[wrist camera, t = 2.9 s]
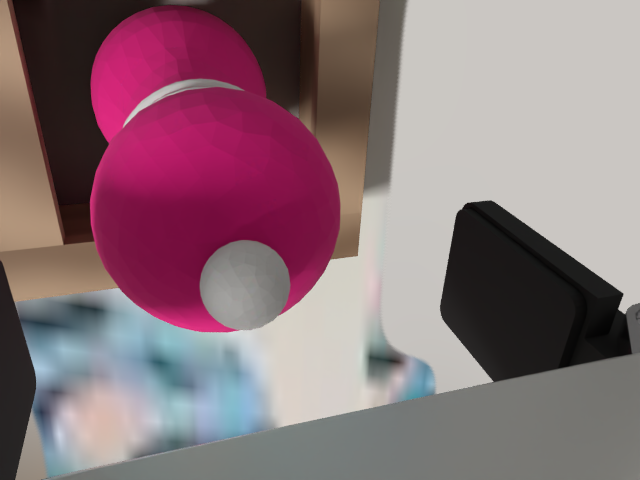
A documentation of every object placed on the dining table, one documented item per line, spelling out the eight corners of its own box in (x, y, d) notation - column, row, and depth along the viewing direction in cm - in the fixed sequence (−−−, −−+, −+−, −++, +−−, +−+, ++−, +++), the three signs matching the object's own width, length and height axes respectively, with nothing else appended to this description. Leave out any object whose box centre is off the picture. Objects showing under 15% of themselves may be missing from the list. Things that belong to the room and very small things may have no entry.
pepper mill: (154, -42, 24) (219, 10, 7) (274, 65, 27) (495, 259, 11) (64, 85, 25) (-60, 378, 8) (190, 170, 29) (275, 484, 12)
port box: (-63, -135, 20) (-130, -160, 15) (334, -106, 24) (390, -117, 19) (33, 233, 28) (11, 302, 23) (320, 204, 32) (357, 255, 27)
